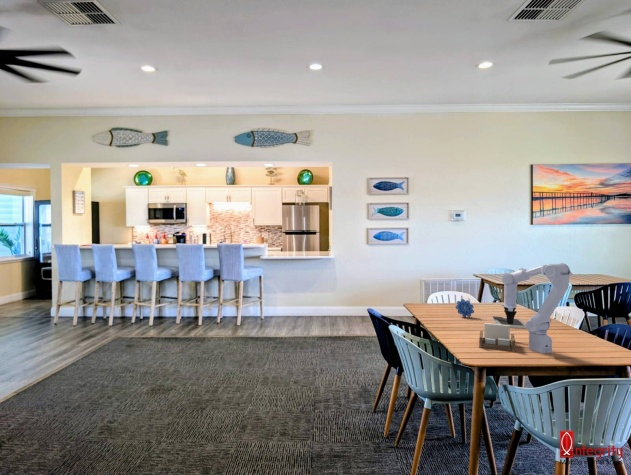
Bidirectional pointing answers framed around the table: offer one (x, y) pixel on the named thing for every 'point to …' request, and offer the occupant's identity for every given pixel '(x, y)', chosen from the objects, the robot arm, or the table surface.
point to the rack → (496, 346)
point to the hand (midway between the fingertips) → (509, 322)
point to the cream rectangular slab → (497, 331)
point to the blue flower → (465, 308)
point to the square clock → (516, 324)
